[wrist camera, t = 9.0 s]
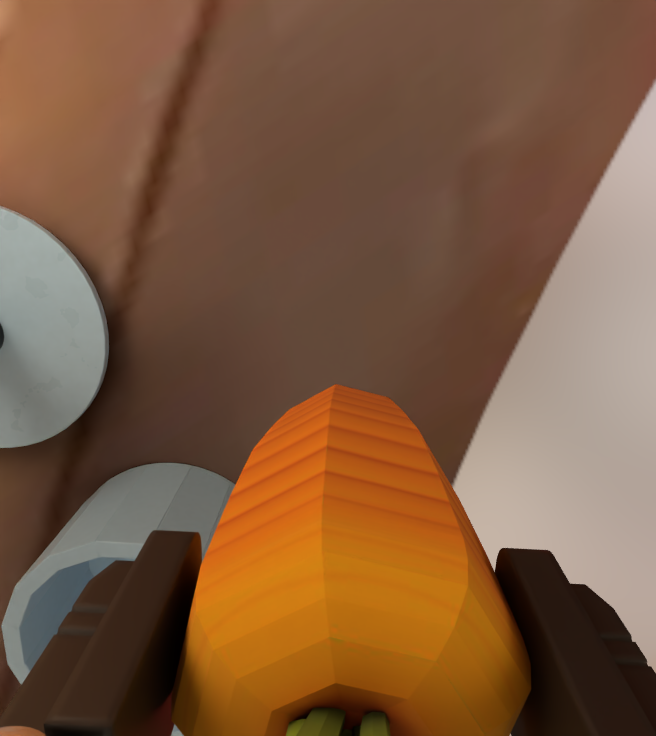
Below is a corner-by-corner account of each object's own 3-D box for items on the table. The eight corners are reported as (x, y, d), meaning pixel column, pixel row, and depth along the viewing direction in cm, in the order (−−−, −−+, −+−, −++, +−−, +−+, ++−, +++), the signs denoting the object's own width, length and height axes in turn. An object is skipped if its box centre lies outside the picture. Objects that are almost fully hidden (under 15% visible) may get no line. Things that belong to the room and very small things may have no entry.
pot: (67, 457, 31) (-14, 535, 24) (277, 467, 31) (258, 549, 24) (86, 628, 34) (19, 741, 27) (275, 638, 34) (257, 754, 27)
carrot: (251, 337, 17) (-264, 1166, 3) (417, 315, 17) (903, 1123, 2) (278, 484, 18) (51, 1533, 4) (431, 466, 18) (778, 1540, 4)
